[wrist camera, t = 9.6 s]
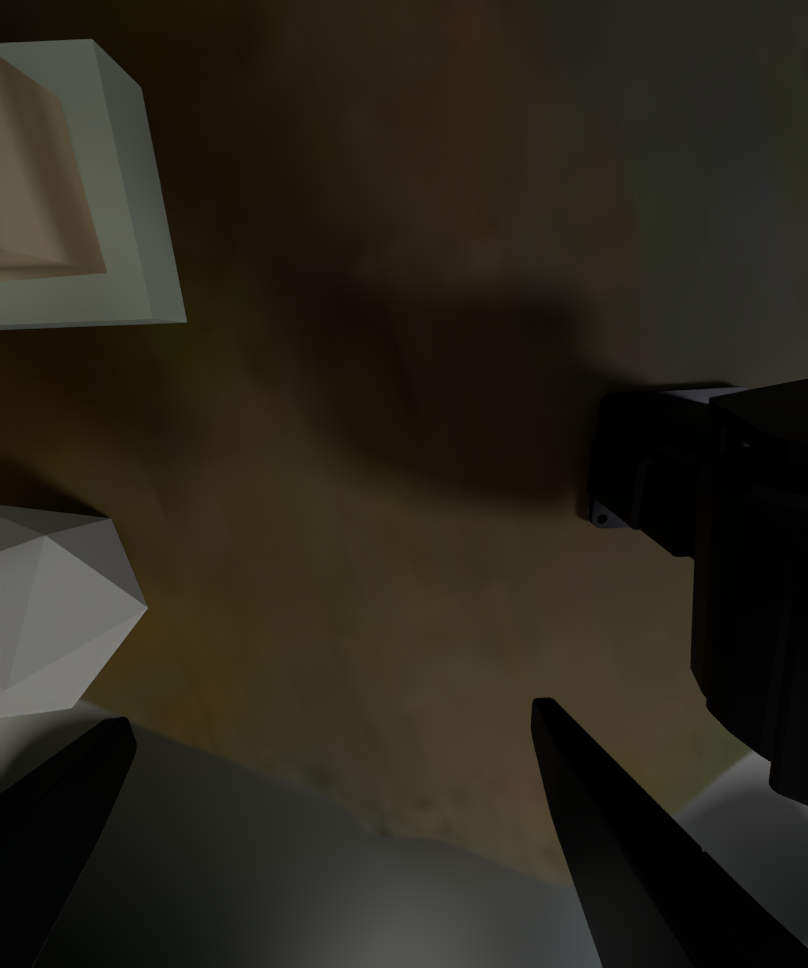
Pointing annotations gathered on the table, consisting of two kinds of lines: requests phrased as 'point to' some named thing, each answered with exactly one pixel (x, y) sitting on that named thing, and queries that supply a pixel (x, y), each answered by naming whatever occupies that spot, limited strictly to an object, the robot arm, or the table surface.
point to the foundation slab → (101, 198)
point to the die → (59, 606)
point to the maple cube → (40, 188)
